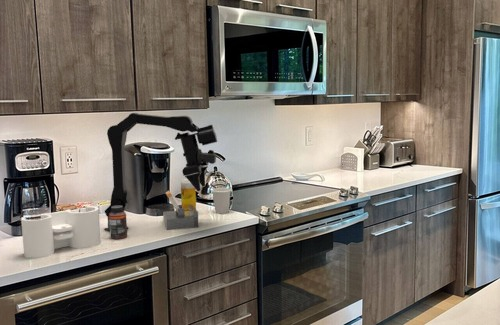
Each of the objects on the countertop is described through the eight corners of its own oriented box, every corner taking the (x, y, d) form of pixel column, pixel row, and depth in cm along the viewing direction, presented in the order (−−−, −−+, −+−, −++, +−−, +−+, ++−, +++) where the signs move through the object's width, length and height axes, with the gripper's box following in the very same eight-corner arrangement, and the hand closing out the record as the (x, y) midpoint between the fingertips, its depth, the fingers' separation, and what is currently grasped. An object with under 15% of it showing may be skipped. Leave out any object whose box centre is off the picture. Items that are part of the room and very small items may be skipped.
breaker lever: (178, 213, 190) (166, 194, 188) (176, 211, 195) (165, 192, 193) (181, 211, 191) (170, 192, 189) (180, 208, 195) (168, 190, 193)
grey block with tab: (166, 229, 185) (166, 211, 184) (163, 221, 199) (162, 204, 198) (198, 227, 188) (197, 209, 188) (193, 219, 202) (192, 202, 201)
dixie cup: (235, 212, 212) (234, 189, 211) (218, 215, 208) (217, 192, 206) (225, 209, 219) (225, 187, 218) (209, 211, 215) (208, 189, 213)
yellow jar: (179, 214, 210) (177, 180, 209) (190, 212, 215) (188, 178, 213) (188, 216, 206) (187, 181, 205) (199, 214, 211) (198, 179, 209)
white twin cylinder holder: (31, 260, 152) (28, 222, 150) (20, 254, 159) (17, 217, 158) (106, 243, 169) (104, 209, 167) (93, 238, 176) (91, 205, 174)
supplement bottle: (120, 234, 181) (119, 204, 179) (130, 236, 177) (129, 205, 175) (106, 237, 176) (105, 206, 175) (116, 240, 172) (115, 208, 171)
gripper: (207, 146, 173) (218, 188, 175) (215, 141, 192) (225, 179, 194) (177, 153, 175) (188, 195, 177) (188, 147, 193) (198, 185, 195)
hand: (201, 188), depth 185 cm, fingers open, 9 cm apart
